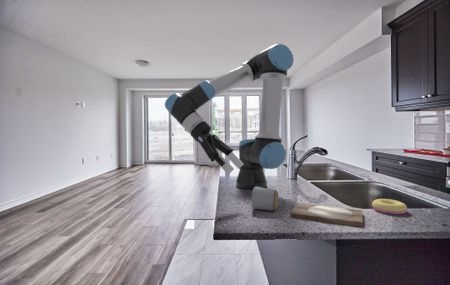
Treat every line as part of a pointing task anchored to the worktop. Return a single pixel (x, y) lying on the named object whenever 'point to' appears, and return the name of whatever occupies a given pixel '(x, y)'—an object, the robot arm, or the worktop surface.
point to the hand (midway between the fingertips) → (236, 169)
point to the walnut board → (328, 214)
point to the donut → (389, 206)
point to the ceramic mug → (264, 199)
